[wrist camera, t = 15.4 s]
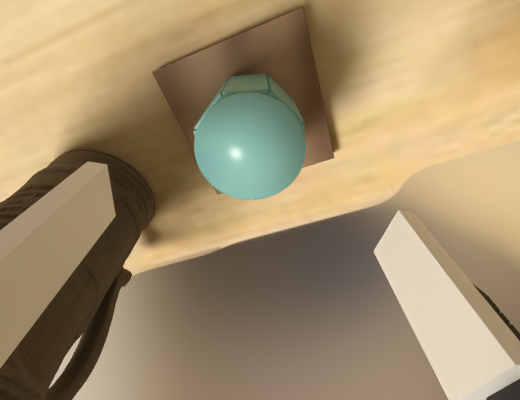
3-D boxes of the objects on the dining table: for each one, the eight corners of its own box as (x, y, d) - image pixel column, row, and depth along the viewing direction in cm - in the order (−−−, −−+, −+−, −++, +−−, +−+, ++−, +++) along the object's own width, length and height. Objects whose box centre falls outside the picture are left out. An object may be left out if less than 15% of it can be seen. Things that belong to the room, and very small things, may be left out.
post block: (300, 7, 18) (320, -2, 13) (331, 153, 25) (354, 192, 19) (156, 70, 21) (116, 86, 15) (218, 189, 27) (208, 233, 21)
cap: (193, 124, 22) (171, 158, 16) (246, 53, 19) (242, 64, 13) (256, 172, 25) (255, 216, 19) (310, 116, 22) (330, 148, 16)
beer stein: (16, 161, 25) (-389, 438, 9) (110, 127, 23) (-194, 399, 7) (117, 257, 34) (2, 479, 18) (190, 238, 32) (132, 466, 16)
